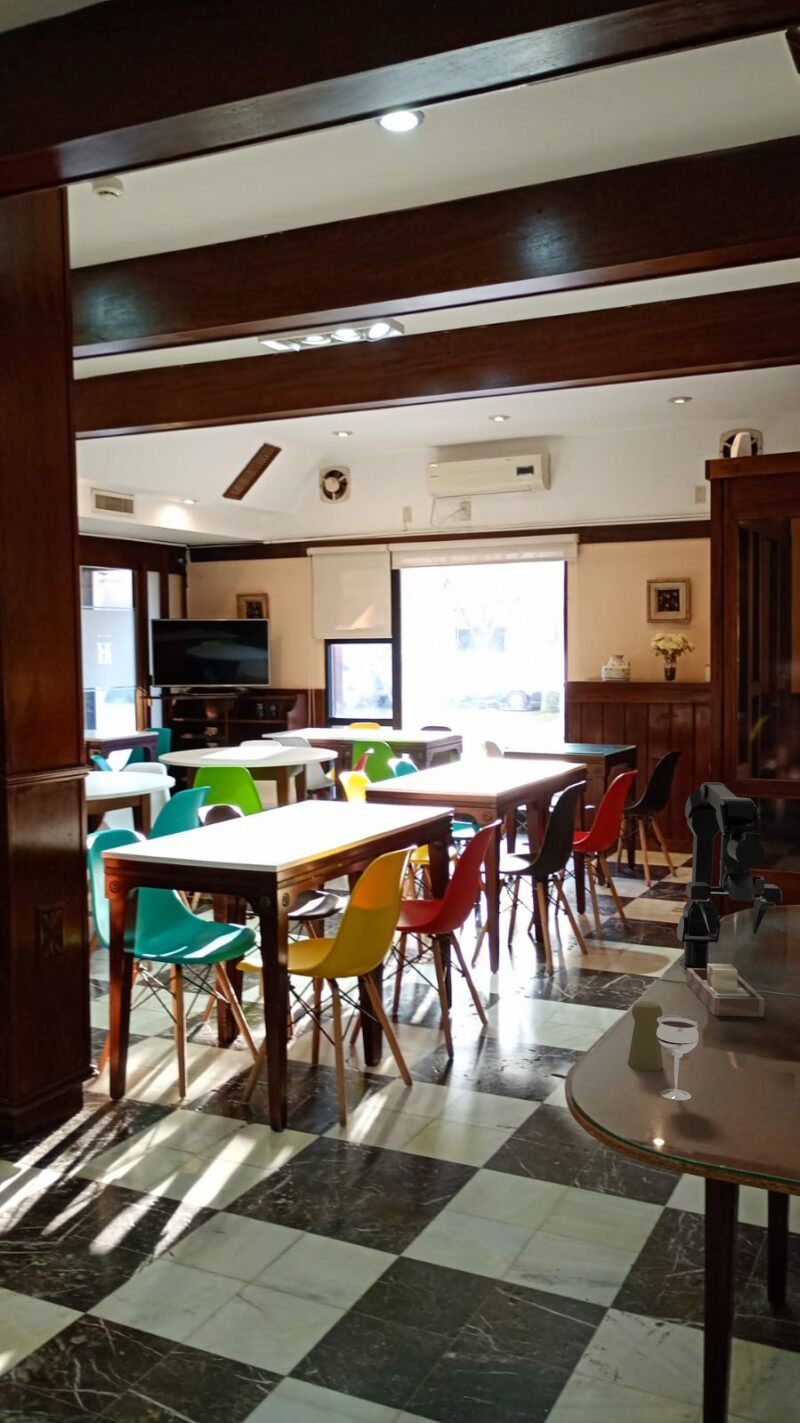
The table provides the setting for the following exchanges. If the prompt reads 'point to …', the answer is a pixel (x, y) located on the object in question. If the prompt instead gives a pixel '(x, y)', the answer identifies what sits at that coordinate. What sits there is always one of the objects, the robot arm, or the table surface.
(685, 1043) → the wineglass
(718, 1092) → the table surface
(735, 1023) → the table surface
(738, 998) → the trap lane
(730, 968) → the block
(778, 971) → the table surface
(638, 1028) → the cork
